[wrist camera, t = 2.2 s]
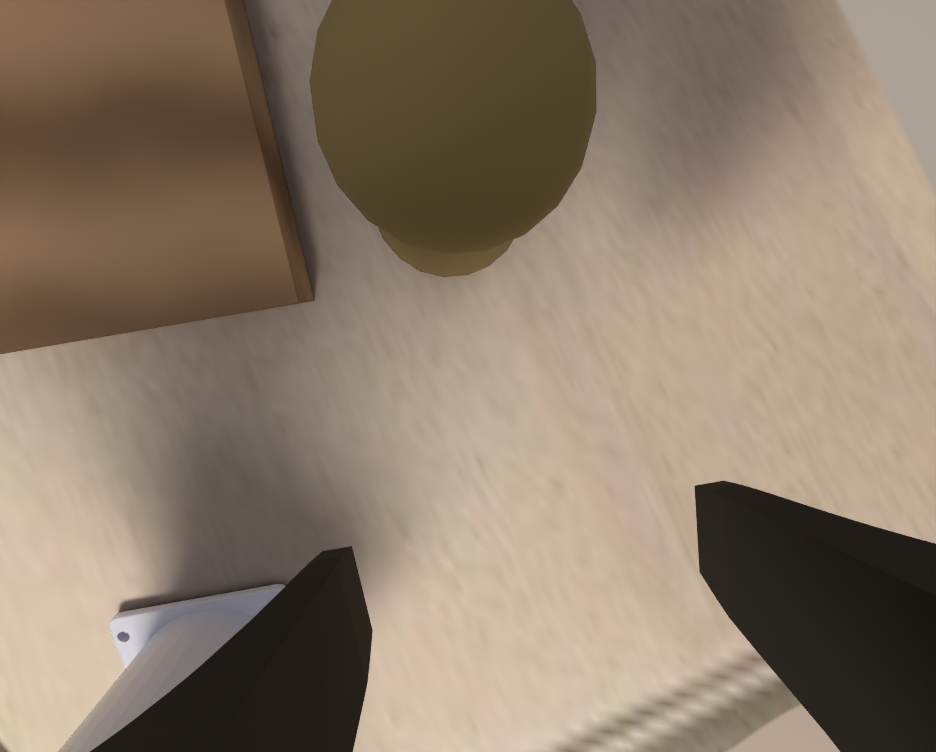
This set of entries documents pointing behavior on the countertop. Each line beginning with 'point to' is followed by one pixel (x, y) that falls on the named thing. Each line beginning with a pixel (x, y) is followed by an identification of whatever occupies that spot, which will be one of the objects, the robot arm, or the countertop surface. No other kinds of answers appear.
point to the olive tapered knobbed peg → (453, 119)
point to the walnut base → (136, 171)
